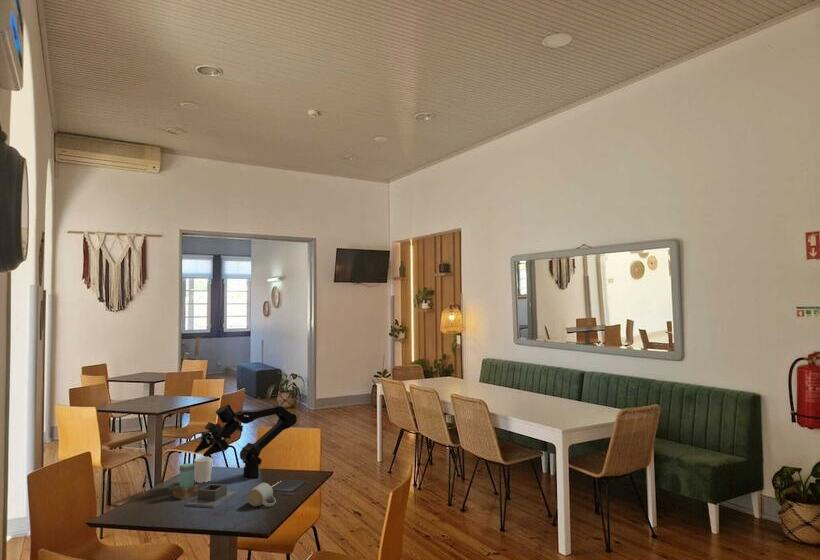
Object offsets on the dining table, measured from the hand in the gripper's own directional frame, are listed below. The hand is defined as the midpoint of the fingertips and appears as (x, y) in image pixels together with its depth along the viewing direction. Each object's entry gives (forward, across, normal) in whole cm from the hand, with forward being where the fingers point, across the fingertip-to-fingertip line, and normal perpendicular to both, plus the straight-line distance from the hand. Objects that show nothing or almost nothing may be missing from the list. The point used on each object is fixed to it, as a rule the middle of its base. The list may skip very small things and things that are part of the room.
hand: (199, 453), depth 246 cm
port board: (+10, +19, +12) cm, 24 cm away
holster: (+15, +6, +9) cm, 18 cm away
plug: (+15, +6, +9) cm, 18 cm away
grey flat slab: (-16, +26, +29) cm, 42 cm away
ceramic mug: (0, +39, +18) cm, 43 cm away
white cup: (+3, -10, +17) cm, 20 cm away
